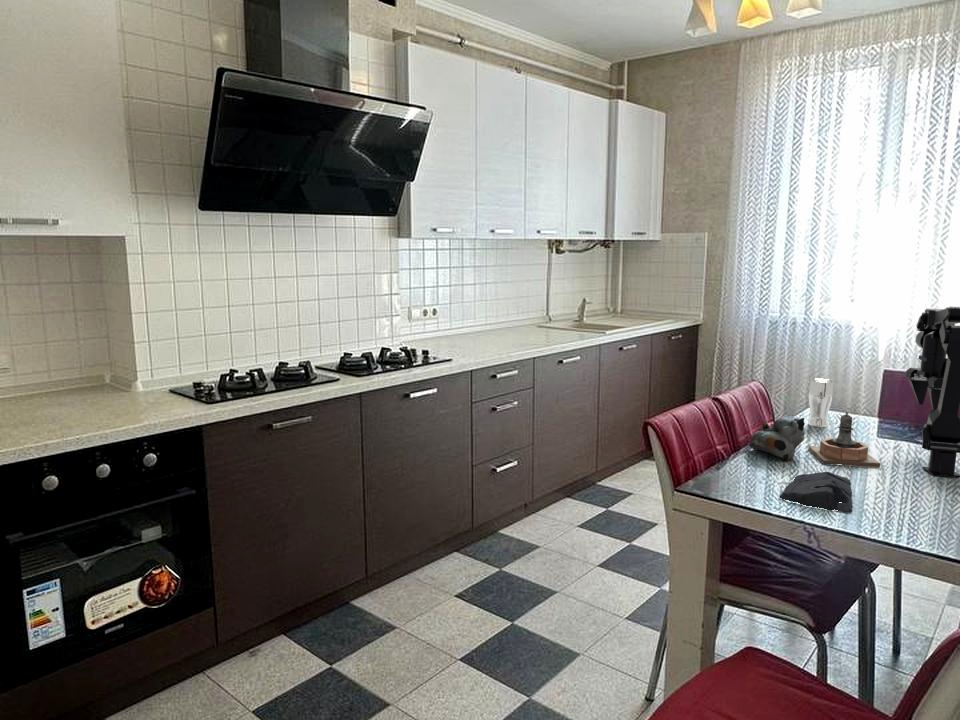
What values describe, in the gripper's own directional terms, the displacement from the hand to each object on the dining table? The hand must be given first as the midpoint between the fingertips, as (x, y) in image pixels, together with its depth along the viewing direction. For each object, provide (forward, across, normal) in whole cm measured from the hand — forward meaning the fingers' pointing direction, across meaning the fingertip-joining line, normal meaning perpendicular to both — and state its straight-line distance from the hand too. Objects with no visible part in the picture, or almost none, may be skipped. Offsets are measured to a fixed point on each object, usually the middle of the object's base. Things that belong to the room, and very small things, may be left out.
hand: (927, 408), depth 199 cm
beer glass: (+13, +27, +20) cm, 37 cm away
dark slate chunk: (+14, -43, +40) cm, 61 cm away
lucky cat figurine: (+13, -11, +43) cm, 46 cm away
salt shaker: (+12, -11, +25) cm, 30 cm away
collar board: (+13, -11, +25) cm, 30 cm away
